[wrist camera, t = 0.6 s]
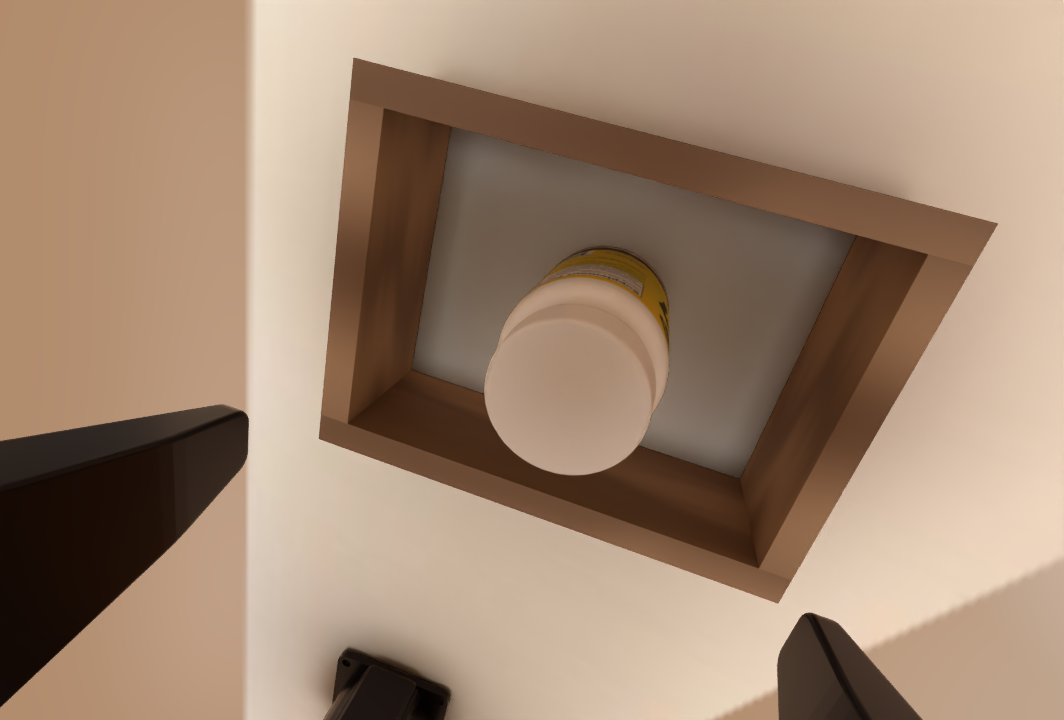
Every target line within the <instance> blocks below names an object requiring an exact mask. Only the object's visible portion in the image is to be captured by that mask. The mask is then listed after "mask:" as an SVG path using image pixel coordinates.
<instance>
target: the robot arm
mask: <svg viewBox="0 0 1064 720" xmlns="http://www.w3.org/2000/svg"><path fill="white" fill-rule="evenodd" d="M248 428H249V419H248V416H247V414H246V413H245V412H243V411H241V410H239V409H236V408H233V407H230V406H227V405H215V406H208V407H202V408H196V409H190V410H184V411H178V412H172V413H166V414H160V415H154V416H148V417H142V418H136V419H130V420H124V421H118V422H112V423H106V424H100V425H94V426H88V427H82V428H76V429H70V430H64V431H58V432H52V433H46V434H40V435H35V436H28V437H22V438H16V439H10V440H4V441H0V707H1V706H2V705H3V704H4V703H6V702H7V701H8V700H9V699H10V698H11V697H12V696H13V695H14V694H15V693H16V692H17V691H18V690H19V689H20V688H21V687H23V686H24V685H25V684H26V683H27V682H28V681H29V680H30V679H31V678H32V677H33V676H34V675H35V674H36V673H37V672H39V671H40V670H41V669H42V668H43V667H44V666H45V665H46V664H47V663H48V662H49V661H50V660H51V659H52V658H53V657H54V656H55V655H57V654H58V653H59V652H60V651H61V650H62V649H63V648H64V647H65V646H66V645H67V644H68V643H69V642H70V641H71V640H73V639H74V638H75V637H76V636H77V635H78V634H79V633H80V632H81V631H82V630H83V629H84V628H85V627H86V626H87V625H88V624H89V623H91V622H92V621H93V620H94V619H95V618H96V617H97V616H98V615H99V614H100V613H101V612H102V611H103V610H104V609H106V608H107V606H109V605H110V604H111V603H112V602H113V601H114V600H115V599H116V598H117V597H118V596H119V595H120V594H121V593H123V592H124V591H125V590H126V589H127V588H128V587H129V586H130V585H131V584H132V583H133V582H134V581H135V580H136V579H137V578H139V576H141V575H142V574H143V573H144V572H145V571H146V570H147V569H148V568H149V567H150V566H151V565H152V564H153V563H154V562H156V561H157V560H158V559H159V558H160V557H161V556H162V555H163V554H164V553H165V552H166V551H167V550H168V549H169V548H170V547H171V546H172V545H173V544H174V543H175V542H176V541H177V540H178V539H179V538H180V537H181V536H182V535H183V534H184V533H185V532H186V531H187V529H188V528H189V527H190V526H191V525H192V524H193V523H194V522H195V520H196V519H197V518H198V517H199V516H200V515H201V514H202V513H203V511H204V510H205V509H206V508H207V507H208V506H209V505H210V503H211V502H212V501H213V500H214V499H215V498H216V496H217V495H218V494H219V493H220V492H221V491H222V490H223V489H224V487H225V486H226V485H227V484H228V483H229V482H230V481H231V479H232V478H233V477H234V476H235V475H236V474H237V473H238V472H239V471H240V469H241V468H242V467H243V465H244V463H245V461H246V459H247V455H248ZM777 677H778V710H779V711H778V712H779V720H922V718H921V717H920V716H919V715H918V714H917V713H916V712H915V711H914V709H913V708H912V707H911V706H910V705H909V704H908V703H907V701H906V700H905V699H904V698H903V697H902V696H901V694H900V693H899V692H898V691H897V690H896V689H895V688H894V686H893V685H892V684H891V683H890V682H889V681H888V680H887V679H886V677H885V676H884V675H883V674H882V673H881V672H880V670H879V669H877V667H876V666H875V665H874V664H873V662H872V661H871V660H870V659H869V658H868V657H867V656H866V654H865V653H864V652H863V651H862V650H861V649H860V647H859V646H858V645H857V644H856V643H855V642H854V641H853V639H852V638H851V637H850V636H849V635H848V634H847V633H846V631H845V630H844V629H843V628H842V627H841V626H840V625H839V624H838V623H837V622H835V621H833V620H831V619H828V618H825V617H822V616H819V615H816V614H814V613H805V614H804V615H802V616H801V617H800V619H799V620H798V622H797V624H796V625H795V627H794V629H793V630H792V632H791V634H790V635H789V637H788V639H787V640H786V642H785V644H784V645H783V647H782V649H781V651H780V654H779V657H778V663H777ZM449 702H450V694H449V693H448V692H447V691H446V690H444V689H442V688H440V687H438V686H435V685H433V684H430V683H428V682H425V681H423V680H420V679H418V678H416V677H413V676H411V675H408V674H406V673H403V672H401V671H398V670H396V669H394V668H391V667H389V666H386V665H384V664H381V663H379V662H377V661H374V660H372V659H369V658H367V657H364V656H362V655H359V654H357V653H355V652H352V651H349V650H345V651H344V652H343V653H342V654H341V656H340V657H339V659H338V665H337V672H336V680H335V687H334V695H333V702H332V706H331V708H330V709H329V711H328V713H327V714H326V716H325V718H324V719H323V720H445V717H446V713H447V710H448V706H449Z"/></svg>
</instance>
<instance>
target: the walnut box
mask: <svg viewBox="0 0 1064 720" xmlns="http://www.w3.org/2000/svg"><path fill="white" fill-rule="evenodd" d="M451 126H452V127H456V128H460V129H464V130H467V131H471V132H475V133H479V134H482V135H486V136H490V137H493V138H497V139H501V140H505V141H508V142H512V143H516V144H520V145H523V146H527V147H531V148H534V149H538V150H542V151H546V152H549V153H553V154H557V155H561V156H564V157H568V158H572V159H575V160H579V161H583V162H587V163H590V164H594V165H598V166H602V167H605V168H609V169H613V170H616V171H620V172H624V173H628V174H631V175H635V176H639V177H643V178H646V179H650V180H654V181H657V182H661V183H665V184H669V185H672V186H676V187H680V188H684V189H687V190H691V191H695V192H698V193H702V194H706V195H710V196H713V197H717V198H721V199H725V200H728V201H732V202H736V203H739V204H743V205H747V206H751V207H754V208H758V209H762V210H766V211H769V212H773V213H777V214H780V215H784V216H788V217H792V218H795V219H799V220H803V221H807V222H810V223H814V224H818V225H821V226H825V227H829V228H833V229H836V230H840V231H844V232H848V233H851V234H855V235H857V237H856V239H855V241H854V243H853V245H852V247H851V249H850V251H849V253H848V256H847V258H846V260H845V262H844V264H843V266H842V268H841V270H840V272H839V274H838V276H837V279H836V281H835V283H834V285H833V287H832V289H831V291H830V293H829V295H828V297H827V299H826V302H825V304H824V306H823V308H822V310H821V312H820V314H819V316H818V318H817V320H816V322H815V324H814V327H813V329H812V331H811V333H810V335H809V337H808V339H807V341H806V343H805V345H804V347H803V350H802V352H801V354H800V356H799V358H798V360H797V362H796V364H795V366H794V368H793V370H792V373H791V375H790V377H789V379H788V381H787V383H786V385H785V387H784V389H783V391H782V393H781V395H780V398H779V400H778V402H777V404H776V406H775V408H774V410H773V412H772V414H771V416H770V418H769V421H768V423H767V425H766V427H765V429H764V431H763V433H762V435H761V437H760V439H759V441H758V444H757V446H756V448H755V450H754V452H753V454H752V456H751V458H750V460H749V462H748V464H747V466H746V469H745V471H744V473H743V475H742V477H741V479H737V478H734V477H731V476H728V475H725V474H722V473H719V472H716V471H713V470H710V469H707V468H704V467H701V466H698V465H695V464H692V463H689V462H686V461H683V460H680V459H677V458H673V457H670V456H667V455H664V454H661V453H658V452H655V451H652V450H649V449H646V448H643V447H640V446H637V447H636V448H635V449H634V451H633V452H632V453H631V454H630V455H629V456H627V457H626V458H625V459H624V460H622V461H621V462H619V463H618V464H616V465H614V466H612V467H611V468H608V469H605V470H603V471H600V472H596V473H592V474H587V475H565V474H557V473H553V472H550V471H546V470H543V469H541V468H538V467H536V466H534V465H532V464H530V463H529V462H527V461H525V460H524V459H522V458H521V457H519V456H518V455H517V454H515V453H514V452H513V451H512V450H511V449H510V448H509V447H508V446H507V445H506V444H505V443H504V442H503V440H502V439H501V438H500V436H499V435H498V433H497V431H496V430H495V428H494V427H493V425H492V423H491V421H490V418H489V415H488V412H487V408H486V404H485V395H484V394H481V393H478V392H475V391H472V390H469V389H466V388H463V387H460V386H457V385H454V384H451V383H448V382H445V381H442V380H439V379H436V378H433V377H430V376H427V375H424V374H421V373H418V372H415V371H412V370H411V369H412V363H413V357H414V351H415V345H416V339H417V333H418V326H419V320H420V314H421V308H422V302H423V296H424V290H425V283H426V277H427V271H428V265H429V259H430V253H431V246H432V240H433V234H434V228H435V222H436V216H437V210H438V203H439V197H440V191H441V185H442V179H443V173H444V167H445V160H446V154H447V148H448V142H449V136H450V130H451ZM997 225H998V223H994V222H990V221H986V220H982V219H978V218H974V217H970V216H967V215H963V214H959V213H955V212H951V211H947V210H943V209H939V208H935V207H932V206H928V205H924V204H920V203H916V202H912V201H908V200H904V199H900V198H897V197H893V196H889V195H885V194H881V193H877V192H873V191H869V190H866V189H862V188H858V187H854V186H850V185H846V184H842V183H838V182H834V181H831V180H827V179H823V178H819V177H815V176H811V175H807V174H803V173H800V172H796V171H792V170H788V169H784V168H780V167H776V166H772V165H768V164H765V163H761V162H757V161H753V160H749V159H745V158H741V157H737V156H733V155H730V154H726V153H722V152H718V151H714V150H710V149H706V148H702V147H699V146H695V145H691V144H687V143H683V142H679V141H675V140H671V139H667V138H664V137H660V136H656V135H652V134H648V133H644V132H640V131H636V130H632V129H629V128H625V127H621V126H617V125H613V124H609V123H605V122H601V121H598V120H594V119H590V118H586V117H582V116H578V115H574V114H570V113H566V112H563V111H559V110H555V109H551V108H547V107H543V106H539V105H535V104H532V103H528V102H524V101H520V100H516V99H512V98H508V97H504V96H500V95H497V94H493V93H489V92H485V91H481V90H477V89H473V88H469V87H465V86H462V85H458V84H454V83H450V82H446V81H442V80H438V79H434V78H431V77H427V76H423V75H419V74H415V73H411V72H407V71H403V70H399V69H396V68H392V67H388V66H384V65H380V64H376V63H372V62H368V61H365V60H361V59H357V58H353V69H352V80H351V91H350V102H349V113H348V124H347V135H346V146H345V157H344V168H343V179H342V190H341V201H340V212H339V223H338V234H337V245H336V256H335V267H334V278H333V289H332V300H331V311H330V322H329V333H328V344H327V355H326V366H325V377H324V388H323V399H322V410H321V421H320V432H319V439H321V440H323V441H326V442H329V443H332V444H335V445H337V446H340V447H343V448H346V449H348V450H351V451H354V452H357V453H360V454H362V455H365V456H368V457H371V458H374V459H376V460H379V461H382V462H385V463H388V464H390V465H393V466H396V467H399V468H401V469H404V470H407V471H410V472H413V473H415V474H418V475H421V476H424V477H427V478H429V479H432V480H435V481H438V482H441V483H443V484H446V485H449V486H452V487H454V488H457V489H460V490H463V491H466V492H468V493H471V494H474V495H477V496H480V497H482V498H485V499H488V500H491V501H494V502H496V503H499V504H502V505H505V506H507V507H510V508H513V509H516V510H519V511H521V512H524V513H527V514H530V515H533V516H535V517H538V518H541V519H544V520H547V521H549V522H552V523H555V524H558V525H560V526H563V527H566V528H569V529H572V530H574V531H577V532H580V533H583V534H586V535H588V536H591V537H594V538H597V539H600V540H602V541H605V542H608V543H611V544H613V545H616V546H619V547H622V548H625V549H627V550H630V551H633V552H636V553H639V554H641V555H644V556H647V557H650V558H653V559H655V560H658V561H661V562H664V563H666V564H669V565H672V566H675V567H678V568H680V569H683V570H686V571H689V572H692V573H694V574H697V575H700V576H703V577H706V578H708V579H711V580H714V581H717V582H719V583H722V584H725V585H728V586H731V587H733V588H736V589H739V590H742V591H745V592H747V593H750V594H753V595H756V596H759V597H761V598H764V599H767V600H770V601H772V602H775V603H779V601H780V599H781V598H782V596H783V594H784V593H785V591H786V589H787V587H788V586H789V584H790V582H791V580H792V579H793V577H794V575H795V574H796V572H797V570H798V568H799V567H800V565H801V563H802V561H803V560H804V558H805V556H806V555H807V553H808V551H809V549H810V548H811V546H812V544H813V542H814V541H815V539H816V537H817V536H818V534H819V532H820V530H821V529H822V527H823V525H824V523H825V522H826V520H827V518H828V517H829V515H830V513H831V511H832V510H833V508H834V506H835V504H836V503H837V501H838V499H839V498H840V496H841V494H842V492H843V491H844V489H845V487H846V485H847V484H848V482H849V480H850V479H851V477H852V475H853V473H854V472H855V470H856V468H857V466H858V465H859V463H860V461H861V460H862V458H863V456H864V454H865V453H866V451H867V449H868V447H869V446H870V444H871V442H872V441H873V439H874V437H875V435H876V434H877V432H878V430H879V428H880V427H881V425H882V423H883V422H884V420H885V418H886V416H887V415H888V413H889V411H890V409H891V408H892V406H893V404H894V403H895V401H896V399H897V397H898V396H899V394H900V392H901V390H902V389H903V387H904V385H905V384H906V382H907V380H908V378H909V377H910V375H911V373H912V371H913V370H914V368H915V366H916V365H917V363H918V361H919V359H920V358H921V356H922V354H923V352H924V351H925V349H926V347H927V346H928V344H929V342H930V340H931V339H932V337H933V335H934V333H935V332H936V330H937V328H938V327H939V325H940V323H941V321H942V320H943V318H944V316H945V314H946V313H947V311H948V309H949V308H950V306H951V304H952V302H953V301H954V299H955V297H956V295H957V294H958V292H959V290H960V289H961V287H962V285H963V283H964V282H965V280H966V278H967V276H968V275H969V273H970V271H971V270H972V268H973V266H974V264H975V263H976V261H977V259H978V257H979V256H980V254H981V252H982V251H983V249H984V247H985V245H986V244H987V242H988V240H989V238H990V237H991V235H992V233H993V232H994V230H995V228H996V226H997Z"/></svg>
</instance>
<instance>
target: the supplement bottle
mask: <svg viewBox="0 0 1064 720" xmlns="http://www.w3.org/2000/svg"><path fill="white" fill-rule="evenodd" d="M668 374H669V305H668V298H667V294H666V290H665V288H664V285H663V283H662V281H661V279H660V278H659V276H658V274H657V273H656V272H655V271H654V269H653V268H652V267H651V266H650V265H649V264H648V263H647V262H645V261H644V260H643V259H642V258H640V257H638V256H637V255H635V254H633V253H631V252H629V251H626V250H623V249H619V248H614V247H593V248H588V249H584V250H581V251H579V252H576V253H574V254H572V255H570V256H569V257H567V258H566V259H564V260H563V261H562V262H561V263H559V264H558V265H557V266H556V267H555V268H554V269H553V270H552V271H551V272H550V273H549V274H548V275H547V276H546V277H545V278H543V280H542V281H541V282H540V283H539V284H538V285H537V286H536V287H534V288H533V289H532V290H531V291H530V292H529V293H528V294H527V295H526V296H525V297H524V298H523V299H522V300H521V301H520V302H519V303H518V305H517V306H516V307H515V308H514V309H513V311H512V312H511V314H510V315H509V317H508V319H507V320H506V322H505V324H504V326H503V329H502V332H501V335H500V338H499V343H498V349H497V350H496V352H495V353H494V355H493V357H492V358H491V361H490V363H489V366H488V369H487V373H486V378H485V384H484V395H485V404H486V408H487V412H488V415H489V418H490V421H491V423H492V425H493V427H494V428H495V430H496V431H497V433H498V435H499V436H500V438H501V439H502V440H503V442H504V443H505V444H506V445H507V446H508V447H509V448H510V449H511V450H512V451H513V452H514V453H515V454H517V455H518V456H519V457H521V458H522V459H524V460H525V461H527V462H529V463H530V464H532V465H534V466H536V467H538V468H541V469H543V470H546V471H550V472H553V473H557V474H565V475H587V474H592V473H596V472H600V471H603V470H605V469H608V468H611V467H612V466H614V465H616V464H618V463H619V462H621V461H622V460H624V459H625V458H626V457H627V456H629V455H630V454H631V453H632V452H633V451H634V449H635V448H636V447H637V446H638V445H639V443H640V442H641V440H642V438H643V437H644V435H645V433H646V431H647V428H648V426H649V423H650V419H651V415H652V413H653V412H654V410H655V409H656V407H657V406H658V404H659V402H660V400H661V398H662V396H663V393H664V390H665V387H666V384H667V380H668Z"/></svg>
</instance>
